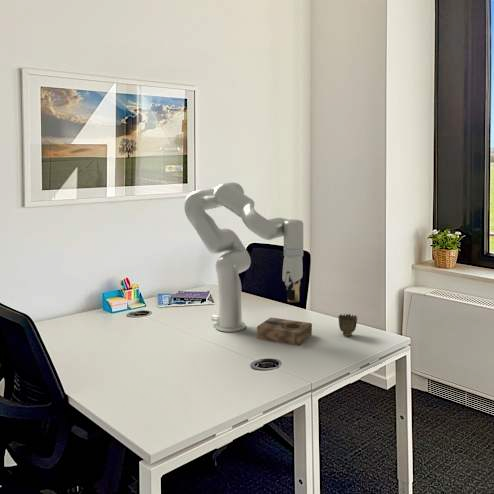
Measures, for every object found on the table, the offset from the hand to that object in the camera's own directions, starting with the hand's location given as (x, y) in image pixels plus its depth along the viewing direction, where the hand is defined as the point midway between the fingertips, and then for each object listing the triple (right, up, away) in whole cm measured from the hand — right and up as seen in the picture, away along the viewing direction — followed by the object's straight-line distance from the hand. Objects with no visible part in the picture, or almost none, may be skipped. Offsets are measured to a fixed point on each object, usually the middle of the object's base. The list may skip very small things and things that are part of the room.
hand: (293, 297), depth 218 cm
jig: (-3, -16, +5) cm, 17 cm away
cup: (+22, -16, +5) cm, 28 cm away
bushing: (0, -1, 0) cm, 1 cm away
